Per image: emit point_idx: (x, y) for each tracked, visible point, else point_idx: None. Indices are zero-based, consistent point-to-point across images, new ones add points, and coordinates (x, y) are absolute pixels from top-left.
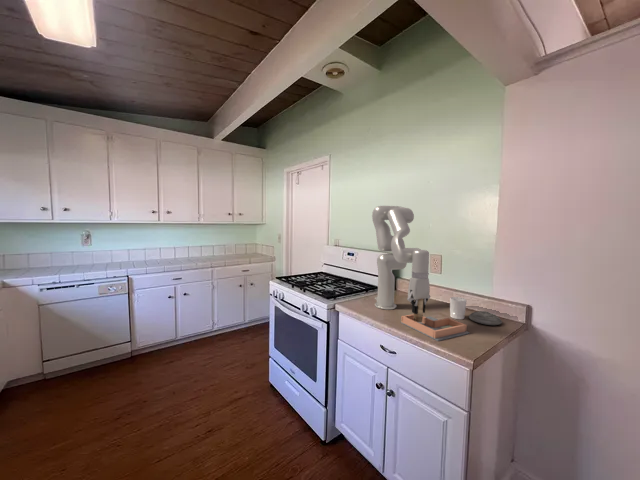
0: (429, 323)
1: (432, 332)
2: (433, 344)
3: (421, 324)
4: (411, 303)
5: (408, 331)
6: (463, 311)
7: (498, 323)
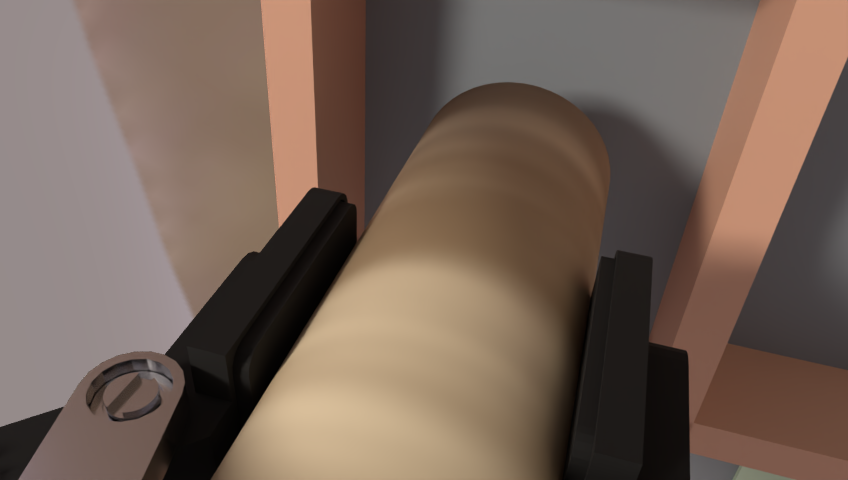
0: (668, 310)
1: None
2: None
3: None
4: (45, 430)
5: (206, 167)
6: None
7: None
